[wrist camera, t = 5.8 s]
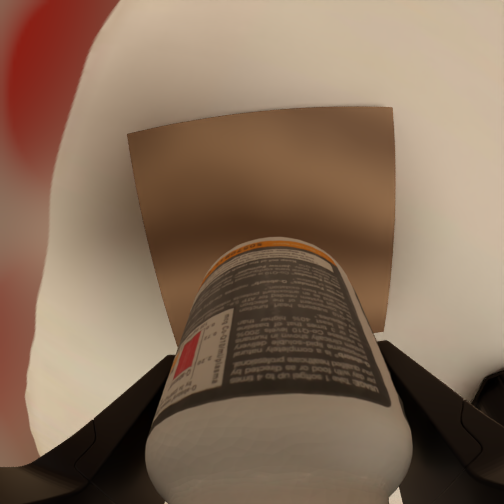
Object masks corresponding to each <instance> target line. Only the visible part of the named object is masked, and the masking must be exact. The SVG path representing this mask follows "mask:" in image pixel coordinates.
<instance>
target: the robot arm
mask: <svg viewBox="0 0 504 504" xmlns="http://www.w3.org/2000/svg"><path fill="white" fill-rule="evenodd" d="M377 343H378V346H379V348H380V351H381V353H382V355H383V357H384V360H385V362H386V365H387V367H388V369H389V371H390V374H391V379H392V382H393V384H394V387H395V389H396V391H397V393H398V395H399V396H400V398H401V400H402V403H403V407H404V412H405V415H406V418H407V420H408V423H409V426H410V429H411V434H412V445H413V451H412V458H411V463H410V466H409V469H408V472H407V474H406V476H405V478H404V479H403V481H402V482H401V484H400V485H399V489H400V493H401V497H402V502H403V504H504V371H502V372H499V373H496V374H494V375H491V376H488V377H487V378H486V379H485V380H484V381H483V383H482V385H481V387H480V389H479V391H478V393H477V395H476V397H475V399H474V401H473V403H472V405H471V404H470V403H469V402H467V401H466V400H464V401H463V398H462V397H461V396H459V395H458V394H457V393H456V392H454V391H453V390H452V389H450V388H449V387H448V386H446V385H445V384H444V383H443V382H441V381H440V380H439V379H437V378H436V377H435V376H433V375H432V374H431V373H430V372H428V371H427V370H426V369H424V368H423V367H422V366H420V365H419V364H418V363H416V362H415V361H414V360H413V359H411V358H410V357H409V356H407V355H406V354H405V353H403V352H402V351H401V350H399V349H398V348H397V347H395V346H394V345H393V344H391V343H390V342H389V341H387V340H384V341H377ZM175 356H176V355H167V356H166V357H165V358H164V359H162V360H161V361H160V362H159V363H158V364H157V365H155V366H154V367H153V368H152V369H151V370H150V371H149V372H147V373H146V374H145V375H144V376H143V377H142V378H140V379H139V380H138V381H137V382H136V383H135V384H134V385H132V386H131V387H130V388H129V389H128V390H127V391H125V392H124V393H123V394H122V395H121V396H120V397H118V398H117V399H116V400H115V401H114V402H112V403H111V404H110V405H109V406H108V407H107V408H105V409H104V410H103V411H102V412H101V413H100V414H98V415H97V416H96V417H95V418H94V420H91V421H90V422H89V423H88V424H86V425H85V426H84V427H83V428H81V429H80V430H79V431H78V432H76V433H75V434H74V435H72V436H71V437H70V438H68V439H67V440H65V441H64V442H63V443H61V444H60V445H58V446H57V447H55V448H54V449H52V450H51V451H49V452H48V453H46V454H44V455H43V456H41V457H40V458H38V459H37V460H35V461H34V462H32V463H30V464H27V465H24V466H20V467H0V504H164V503H165V500H164V499H163V498H162V497H161V496H160V494H159V493H158V492H157V491H156V489H155V487H154V486H153V484H152V482H151V480H150V478H149V475H148V472H147V467H146V461H145V450H146V442H147V438H148V435H149V432H150V429H151V426H152V423H153V419H154V417H155V414H156V411H157V408H158V405H159V402H160V399H161V397H162V394H163V391H164V388H165V385H166V382H167V379H168V376H169V373H170V370H171V367H172V364H173V361H174V358H175Z"/></svg>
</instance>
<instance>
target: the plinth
mask: <svg viewBox="0 0 504 504" xmlns="http://www.w3.org/2000/svg"><path fill="white" fill-rule="evenodd" d="M127 137H128V144H129V150H130V156H131V162H132V167H133V173H134V178H135V184H136V189H137V194H138V199H139V204H140V208H141V213H142V218H143V222H144V227H145V231H146V235H147V240H148V244H149V248H150V252H151V256H152V260H153V264H154V268H155V272H156V275H157V279H158V283H159V287H160V290H161V294H162V297H163V301H164V304H165V308H166V311H167V315H168V318H169V321H170V324H171V328H172V331H173V334H174V337H175V340H176V344H177V347H178V346H179V343H180V341H181V338H182V334H183V332H184V329H185V326H186V323H187V320H188V317H189V314H190V310H191V308H192V306H193V302H194V299H195V297H196V295H197V293H198V290H199V288H200V285H201V283H202V281H203V279H204V277H205V275H206V273H207V272H208V271H209V269H210V268H211V266H212V265H213V264H214V263H215V262H216V261H217V260H218V259H219V258H220V257H221V256H222V255H224V254H225V253H226V252H228V251H229V250H231V249H233V248H234V247H236V246H238V245H240V244H242V243H245V242H248V241H252V240H256V239H260V238H266V237H286V238H292V239H298V240H301V241H304V242H307V243H310V244H313V245H315V246H317V247H318V248H320V249H322V250H324V251H325V252H326V253H327V254H329V255H330V256H331V257H332V258H333V259H334V260H335V261H336V262H337V263H338V264H339V265H340V266H341V268H342V269H343V271H344V272H345V274H346V275H347V277H348V279H349V281H350V283H351V284H352V286H353V288H354V290H355V292H356V294H357V296H358V298H359V301H360V303H361V306H362V308H363V310H364V313H365V315H366V317H367V319H368V322H369V324H370V327H371V329H372V331H373V333H377V332H384V326H385V319H386V312H387V304H388V296H389V288H390V278H391V268H392V256H393V242H394V223H395V140H394V122H393V108H392V107H314V108H296V109H281V110H270V111H259V112H250V113H241V114H233V115H225V116H218V117H211V118H205V119H199V120H193V121H187V122H181V123H176V124H171V125H166V126H161V127H156V128H151V129H147V130H142V131H138V132H134V133H129V134H127Z"/></svg>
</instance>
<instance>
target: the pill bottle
mask: <svg viewBox="0 0 504 504" xmlns="http://www.w3.org/2000/svg"><path fill="white" fill-rule="evenodd" d="M412 451H413V445H412V434H411V429H410V426H409V423H408V420H407V418H406V415H405V412H404V407H403V403H402V400H401V398H400V396H399V395H398V393H397V391H396V389H395V387H394V384H393V382H392V379H391V374H390V371H389V369H388V367H387V365H386V362H385V360H384V357H383V355H382V353H381V351H380V348H379V346H378V343H377V341H376V338H375V336H374V334H373V331H372V329H371V327H370V324H369V322H368V319H367V317H366V315H365V313H364V310H363V308H362V306H361V303H360V301H359V298H358V296H357V294H356V292H355V290H354V288H353V286H352V284H351V283H350V281H349V279H348V277H347V275H346V274H345V272H344V271H343V269H342V268H341V266H340V265H339V264H338V263H337V262H336V261H335V260H334V259H333V258H332V257H331V256H330V255H329V254H327V253H326V252H325V251H324V250H322V249H320V248H318V247H317V246H315V245H313V244H310V243H307V242H304V241H301V240H298V239H292V238H286V237H266V238H260V239H256V240H252V241H248V242H245V243H242V244H240V245H238V246H236V247H234V248H233V249H231V250H229V251H228V252H226V253H225V254H224V255H222V256H221V257H220V258H219V259H218V260H217V261H216V262H215V263H214V264H213V265H212V266H211V268H210V269H209V271H208V272H207V273H206V275H205V277H204V279H203V281H202V283H201V285H200V288H199V290H198V293H197V295H196V297H195V299H194V302H193V306H192V308H191V310H190V314H189V317H188V320H187V323H186V326H185V329H184V332H183V334H182V338H181V341H180V343H179V346H178V350H177V353H176V356H175V358H174V361H173V364H172V367H171V370H170V373H169V376H168V379H167V382H166V385H165V388H164V391H163V394H162V397H161V399H160V402H159V405H158V408H157V411H156V414H155V417H154V419H153V423H152V426H151V429H150V432H149V435H148V438H147V442H146V450H145V461H146V467H147V472H148V475H149V478H150V480H151V482H152V484H153V486H154V487H155V489H156V491H157V492H158V493H159V494H160V496H161V497H162V498H163V499H164V500H165V501H166V502H167V503H168V504H389V497H390V496H391V495H392V494H393V493H394V491H395V490H396V489H397V488H398V487H399V485H400V484H401V482H402V481H403V479H404V478H405V476H406V474H407V472H408V469H409V466H410V463H411V458H412Z"/></svg>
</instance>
